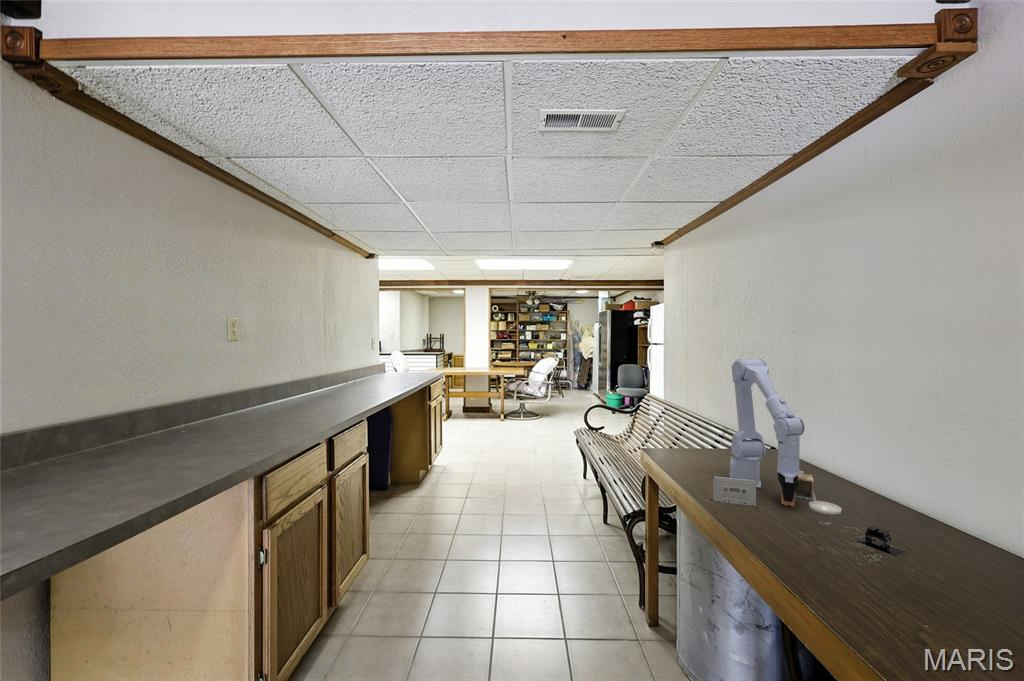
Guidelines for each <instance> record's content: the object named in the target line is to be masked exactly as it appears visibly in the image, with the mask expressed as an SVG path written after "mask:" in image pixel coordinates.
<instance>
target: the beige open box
mask: <svg viewBox="0 0 1024 681" xmlns="http://www.w3.org/2000/svg"><path fill="white" fill-rule="evenodd" d="M797 480H798V481H799V482H800V483H799V485H798V486H797V488H796V490H795V492H800V493H807V494H810V496H811V499H813V493H814V487H815V486H814V484H815V483H814V482H815V480H814V478H813V475H812V474H808V473H804V474H803V475H801V474H799V475H798V479H797Z"/></svg>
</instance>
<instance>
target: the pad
mask: <svg viewBox="0 0 1024 681" xmlns="http://www.w3.org/2000/svg"><path fill="white" fill-rule="evenodd" d="M796 497H798V499H802V498H805V499H804V500H809V499H810V501H817V498H816V494H815V493H814V492H813V499H811V496H810V494H807V493H800V492H795V498H796Z"/></svg>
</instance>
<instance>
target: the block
mask: <svg viewBox="0 0 1024 681" xmlns="http://www.w3.org/2000/svg"><path fill="white" fill-rule="evenodd" d="M780 487H781V486H780ZM780 491H781V497H780V498H781V499H780V501H781V502H780V503H781V505H782V504H784V505H783V506H788V505H790V507H794V506H795V505H796V504H795V503H796V497H795V493H794V498H793V501H792V502H788V501H784V498H783V492H782V487H781V490H780ZM795 507H796V506H795Z"/></svg>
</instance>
